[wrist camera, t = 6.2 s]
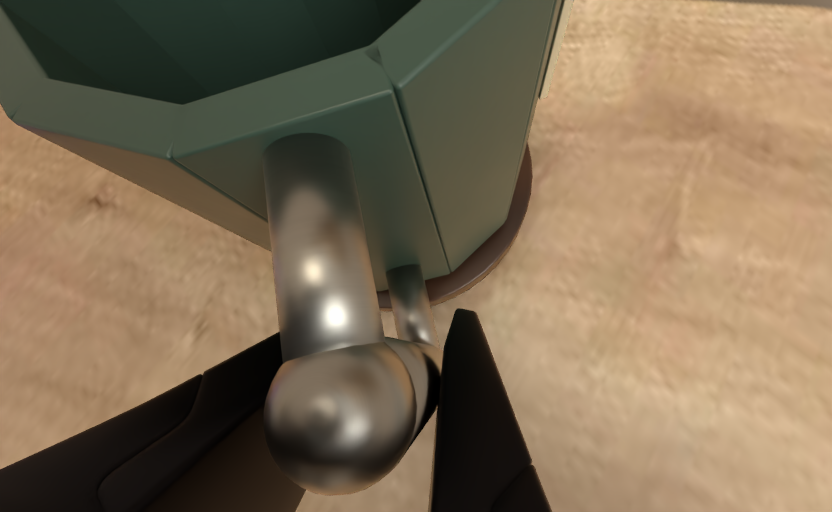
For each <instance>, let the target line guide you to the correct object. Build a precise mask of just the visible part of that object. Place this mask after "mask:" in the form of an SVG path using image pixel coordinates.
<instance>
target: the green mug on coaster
mask: <svg viewBox="0 0 832 512" xmlns="http://www.w3.org/2000/svg"><path fill="white" fill-rule="evenodd" d="M573 2H574V0H0V104H1V106H2V107H3V109H4V111H5V113H6V114H7V116H8V117H9V118H10V119H11V120H12V121H13V122H14V123H16V124H17V125H19V126H21V127H23V128H25V129H27V130H29V131H31V132H33V133H35V134H37V135H39V136H41V137H43V138H45V139H47V140H49V141H51V142H53V143H55V144H57V145H59V146H61V147H63V148H65V149H67V150H69V151H71V152H73V153H75V154H77V155H79V156H81V157H83V158H85V159H87V160H89V161H91V162H93V163H95V164H97V165H99V166H101V167H103V168H105V169H107V170H109V171H111V172H113V173H115V174H117V175H119V176H121V177H123V178H125V179H127V180H129V181H131V182H133V183H135V184H137V185H139V186H141V187H143V188H145V189H147V190H149V191H151V192H153V193H155V194H157V195H159V196H161V197H163V198H165V199H167V200H169V201H171V202H173V203H175V204H177V205H179V206H181V207H183V208H185V209H187V210H189V211H191V212H193V213H195V214H197V215H199V216H201V217H203V218H205V219H207V220H209V221H211V222H213V223H215V224H217V225H219V226H221V227H223V228H225V229H227V230H229V231H231V232H233V233H235V234H237V235H239V236H241V237H243V238H245V239H247V240H249V241H251V242H253V243H255V244H257V245H259V246H261V247H263V248H265V249H267V250H269V251H271V252H272V261H273V271H274V281H275V291H276V301H277V311H278V321H279V331H280V340H281V350H282V360H283V364H282V366H281V367H280V368H279V370H278V372H277V373H276V375H275V377H274V379H273V381H272V383H271V386H270V389H269V391H268V394H267V397H266V401H265V407H264V420H263V427H264V433H265V439H266V443H267V446H268V449H269V451H270V454H271V456H272V458H273V459H274V461H275V463H276V464H277V466H278V467H279V469H280V470H281V471H282V472H283V473H284V474H285V475H286V476H287V477H288V478H289V479H290V480H292V481H293V482H294V483H296V484H297V485H299V486H300V487H301V488H304V489H306V490H308V491H311V492H313V493H316V494H322V495H329V496H332V495H344V494H352V493H355V492H358V491H361V490H365V489H367V488H368V487H370V486H372V485H373V484H375V483H377V482H378V481H380V480H381V479H382V478H384V477H385V476H386V475H387V474H388V473H389V472H391V471H392V470H393V469H394V468H395V467H396V465H397V464H398V463H399V462H400V460H401V459H402V457H403V456H404V454H405V453H406V452H407V450H408V449H409V447H410V446H411V445H412V443H413V442H414V440H415V439H416V437H417V436H418V435H419V433H420V432H421V430H422V429H423V427H424V426H425V425H426V423H427V422H428V420H429V419H430V418H431V416H432V415H433V413H434V412H435V410H436V409H437V408H438V398H439V388H440V378H441V368H442V359H443V351H442V350H441V349H440V346H439V342H438V337H437V333H436V329H435V324H434V320H433V316H432V311H431V307H430V303H429V298H428V294H427V290H426V285H425V281H424V280H428V279H432V278H436V277H440V276H444V275H448V274H450V272H453V271H454V270H455V269H456V268H457V267H459V266H460V265H461V264H462V263H463V262H464V261H465V260H466V259H467V258H468V257H469V256H470V255H471V254H472V253H473V252H474V251H475V250H476V249H478V248H479V247H480V246H481V245H482V244H483V243H484V242H485V241H486V240H487V239H488V238H489V237H490V236H491V235H492V234H493V233H494V232H495V231H497V230H498V229H499V228H500V227H501V226H502V225H503V224H504V223H505V221H506V220H507V216H508V213H509V209H510V205H511V201H512V198H513V194H514V190H515V187H516V183H517V179H518V176H519V172H520V168H521V164H522V161H523V157H524V153H525V149H526V145H527V141H528V137H529V132H530V128H531V124H532V120H533V116H534V112H535V108H536V104H537V100H538V96H539V99H544V98H547V95H548V92H549V88H550V85H551V81H552V77H553V74H554V70H555V67H556V63H557V60H558V56H559V52H560V49H561V45H562V42H563V38H564V34H565V31H566V27H567V24H568V20H569V17H570V13H571V9H572V6H573ZM388 289H389V294H390V299H391V304H392V309H393V314H394V319H395V325H396V330H397V335H398V339H395V338H390V337H384V331H383V326H382V321H381V315H380V310H379V305H378V299H377V294H376V291H384V290H388Z"/></svg>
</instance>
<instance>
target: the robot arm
mask: <svg viewBox="0 0 832 512" xmlns="http://www.w3.org/2000/svg"><path fill="white" fill-rule="evenodd" d="M377 299H378V295H377ZM282 364H283V360H282V350H281V340H280V332H278V333H276V334H274V335H272V336H270V337H268V338H267V339H265V340H263V341H261V342H259V343H257V344H255V345H253V346H252V347H250V348H248V349H246V350H244V351H242V352H240V353H238V354H237V355H235V356H233V357H231V358H229V359H227V360H225V361H223V362H222V363H220V364H218V365H216V366H214V367H212V368H210V369H208V370H207V371H205V372H204V373H203V375H201V374H199V375H197V376H195V377H193V378H191V379H189V380H188V381H186V382H184V383H182V384H180V385H178V386H176V387H174V388H172V389H170V390H168V391H166V392H165V393H163V394H161V395H159V396H157V397H155V398H153V399H151V400H149V401H147V402H145V403H143V404H141V405H139V406H137V407H135V408H133V409H131V410H128V411H126V412H124V413H122V414H120V415H118V416H116V417H114V418H112V419H109V420H107V421H105V422H103V423H101V424H99V425H97V426H95V427H92V428H90V429H88V430H86V431H84V432H81V433H79V434H77V435H75V436H73V437H70V438H68V439H66V440H64V441H62V442H60V443H57V444H55V445H53V446H51V447H49V448H46V449H44V450H42V451H40V452H38V453H35V454H33V455H31V456H29V457H27V458H25V459H22V460H20V461H18V462H16V463H14V464H11V465H9V466H7V467H5V468H3V469H0V512H295V511H296V509H297V507H298V505H299V503H300V501H301V499H302V497H303V495H304V493H305V491H306V489H304V488H301V487H300V486H299V485H297V484H296V483H294V482H293V481H292V480H290V479H289V478H288V477H287V476H286V475H285V474H284V473H283V472H282V471H281V470H280V469H279V467H278V466H277V464H276V463H275V461H274V459H273V458H272V456H271V454H270V451H269V449H268V446H267V443H266V439H265V433H264V427H263V420H264V407H265V401H266V397H267V394H268V391H269V389H270V386H271V383H272V381H273V379H274V377H275V375H276V373H277V372H278V370H279V368H280V367H281V366H282ZM531 464H532V459H531V457H530V454H529V451H528V449H527V446H526V443H525V441H524V438H523V435H522V433H521V430H520V427H519V425H518V422H517V419H516V417H515V414H514V411H513V409H512V406H511V403H510V401H509V398H508V395H507V393H506V390H505V387H504V385H503V382H502V379H501V377H500V374H499V371H498V369H497V366H496V363H495V361H494V358H493V356H492V353H491V350H490V348H489V345H488V342H487V340H486V337H485V334H484V332H483V329H482V326H481V324H480V321H479V318H478V316H477V314H476V312H474V311H470V310H465V309H457V310H456V311H455V314H454V317H453V320H452V323H451V326H450V329H449V333H448V336H447V339H446V342H445V346H444V351H443V359H442V368H441V378H440V388H439V398H438V408H437V418H436V428H435V439H434V450H433V461H432V472H431V484H430V495H429V506H428V512H552V510H551V508H550V505H549V503H548V500H547V498H546V495H545V493H544V490H543V488H542V485H541V482H540V480H539V477H538V474H537V472H536V469H535V467H534V466H533V465H531Z"/></svg>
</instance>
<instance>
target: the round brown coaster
mask: <svg viewBox="0 0 832 512" xmlns="http://www.w3.org/2000/svg"><path fill="white" fill-rule="evenodd" d="M531 186H532V162H531V156H530V151H529V147H528V143H527V145H526V149H525V153H524V157H523V161H522V164H521V168H520V172H519V176H518V179H517V183H516V187H515V190H514V194H513V198H512V201H511V205H510V209H509V213H508V216H507V220H506V221H505V223H504V224H503V225H502V226H501V227H500V228H499V229H498V230H497V231H495V232H494V233H493V234H492V235H491V236H490V237H489V238H488V239H487V240H486V241H485V242H484V243H483V244H482V245H481V246H480V247H479V248H478V249H476V250H475V251H474V252H473V253H472V254H471V255H470V256H469V257H468V258H467V259H466V260H465V261H464V262H463V263H462V264H461V265H460V266H459V267H457V268H456V269H455V270H454V271H453V272H450V274H448V275H444V276H440V277H436V278H432V279H428V280H424V281H425V285H426V290H427V294H428V298H429V303H430V306H433V305H437V304H439V303H442V302H444V301H447V300H449V299H452V298H454V297H456V296H458V295H460V294H461V293H463V292H465V291H467V290H468V289H470V288H471V287H473V286H474V285H475V284H477V283H478V282H479V281H481V280H482V279H483V278H485V277H486V276H487V275H488V274H489V273H490V272H491V271H492V270H493V269H494V268H495V267H496V266H497V265H498V263H499V262H500V261H501V260H502V258H503V257H504V256H505V254H506V253H507V252H508V251H509V249H510V247H511V245H512V244H513V242H514V240H515V238H516V237H517V235H518V232H519V230H520V227H521V225H522V222H523V220H524V217H525V214H526V211H527V207H528V203H529V199H530V195H531ZM376 294H377V295H378V305H379V310H380V311H393V309H392V304H391V299H390V294H389V289H388V290H384V291H376Z"/></svg>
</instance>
